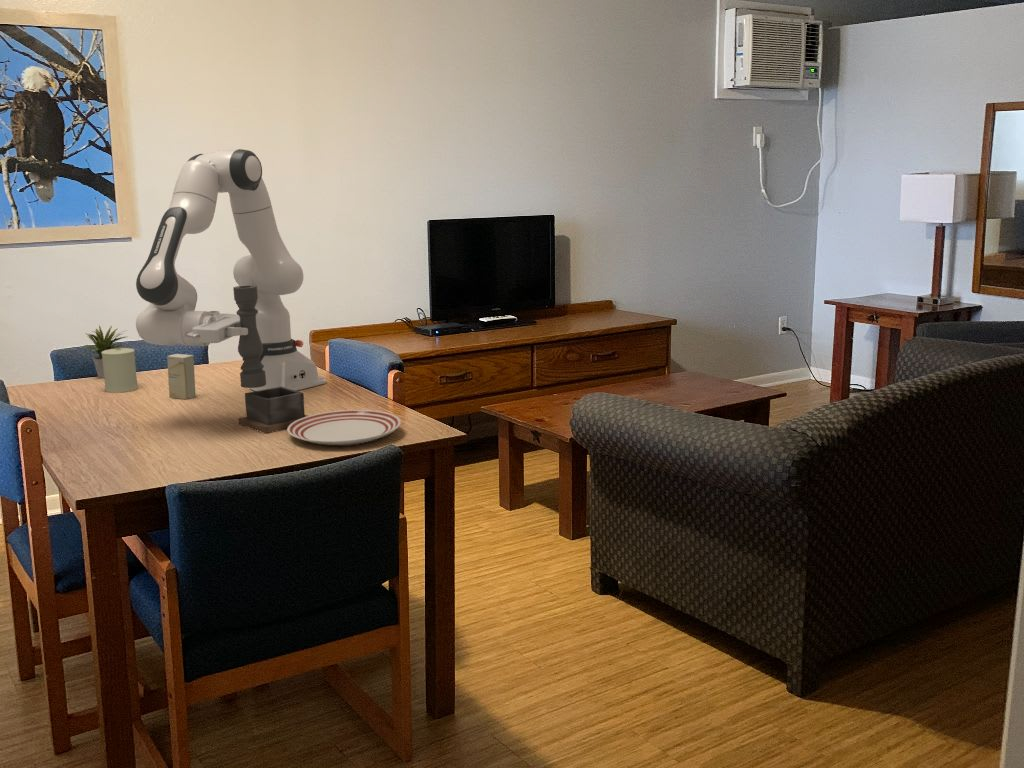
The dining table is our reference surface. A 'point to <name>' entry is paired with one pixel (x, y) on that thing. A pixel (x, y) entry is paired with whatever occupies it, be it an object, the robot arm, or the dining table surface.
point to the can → (119, 370)
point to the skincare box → (181, 376)
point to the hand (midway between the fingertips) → (252, 329)
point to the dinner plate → (344, 427)
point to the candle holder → (249, 338)
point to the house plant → (102, 347)
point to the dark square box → (272, 409)
